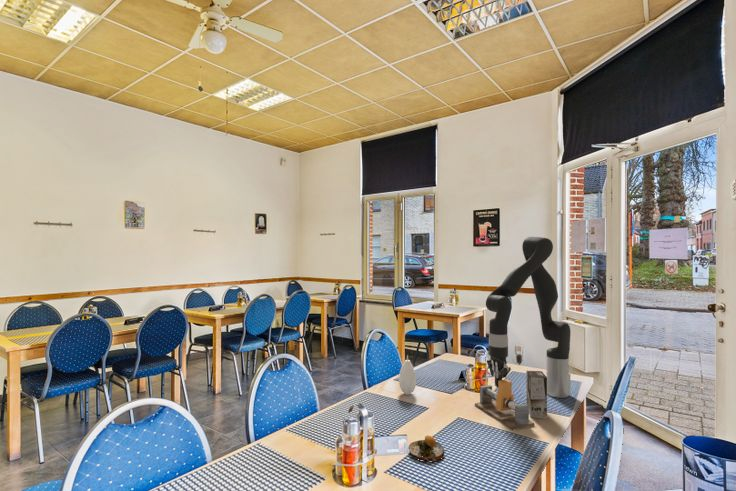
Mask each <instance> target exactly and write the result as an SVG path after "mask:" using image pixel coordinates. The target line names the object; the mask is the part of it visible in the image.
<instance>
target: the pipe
mask: <svg viewBox="0 0 736 491" xmlns="http://www.w3.org/2000/svg"><path fill="white" fill-rule="evenodd" d="M496 393H498V391H497V392H496V391H494V390H493V385H490V384H487V385H481V386H479V403H481V404H486V403H492V401H493V400H495V401H496ZM503 405H505V406H506V407H508V408H509V409H512V411H514V412H515V424H516V425H517V426H520V425H525V424H529V420H530V415H529V405H527V403H521V404H519V403H517V402H515V401H512V400H510V399H508V398H503Z"/></svg>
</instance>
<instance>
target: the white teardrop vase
mask: <svg viewBox="0 0 736 491" xmlns="http://www.w3.org/2000/svg"><path fill="white" fill-rule="evenodd" d="M398 384H399V388H400V390H401V392H402V393H403V394H404V395H407V396H408V395H411V394H413V392H414V391H415V389H416V385H417V376H416V372H415V368H414V366H413V364H412V363H411V360H410V359H409V355H408V354H407V356H406V359H405V360H404V363H403V364H402V365H401V368H400V370H399V374H398Z"/></svg>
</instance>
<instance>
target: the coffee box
mask: <svg viewBox="0 0 736 491" xmlns="http://www.w3.org/2000/svg"><path fill="white" fill-rule="evenodd" d="M525 382H526V404H527V405H529V418H536V419H547V418H548V399H547V398H548V394H547V375H546V374H544V372H543V371H541V370H526V381H525Z"/></svg>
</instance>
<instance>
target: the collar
mask: <svg viewBox="0 0 736 491" xmlns="http://www.w3.org/2000/svg"><path fill="white" fill-rule="evenodd" d="M512 386H513V385H512V381H511V380H508V379H502V380H499V381H498V387H497V393H496V400H495V401H496V409H498V410H500V411H506V410H512V409H509V408H508V407H506V406H505V405H503V398H508V399H510V400H512V401H514V400H515V399H514V396H515V394H514V393H512ZM514 402H515V401H514ZM512 411H513V410H512Z"/></svg>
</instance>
